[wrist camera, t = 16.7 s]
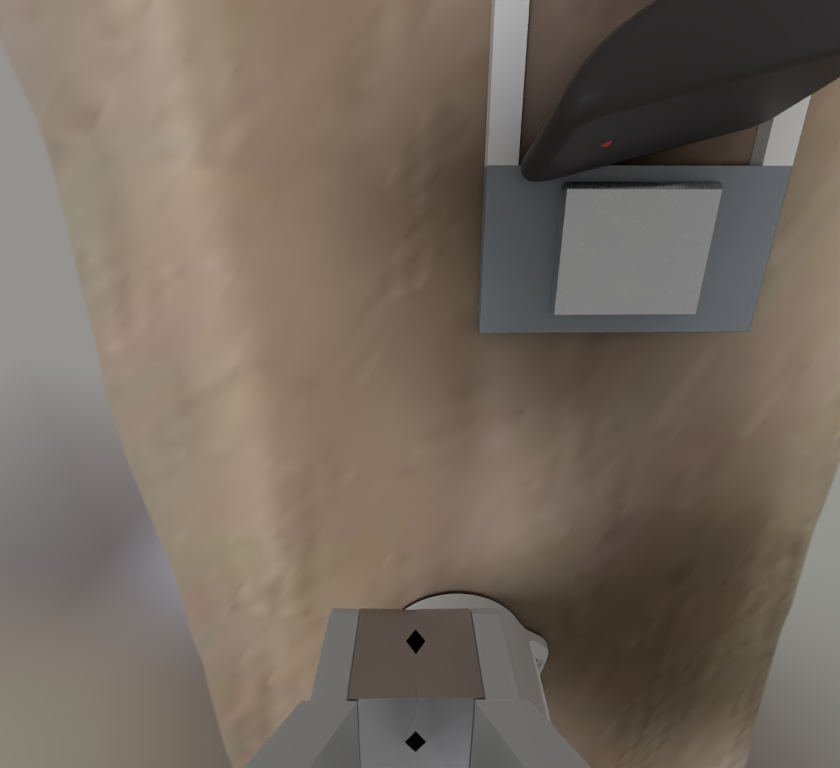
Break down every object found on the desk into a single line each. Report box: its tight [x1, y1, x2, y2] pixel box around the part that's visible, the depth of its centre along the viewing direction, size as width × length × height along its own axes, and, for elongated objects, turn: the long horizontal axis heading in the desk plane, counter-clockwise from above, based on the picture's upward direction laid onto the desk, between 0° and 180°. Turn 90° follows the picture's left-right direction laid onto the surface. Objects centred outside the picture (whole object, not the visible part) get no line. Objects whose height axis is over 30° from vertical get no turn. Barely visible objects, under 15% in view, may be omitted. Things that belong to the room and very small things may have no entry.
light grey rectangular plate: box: [550, 181, 723, 315], centre depth 29 cm, size 8×10×1 cm
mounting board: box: [477, 0, 811, 333], centre depth 28 cm, size 22×20×1 cm
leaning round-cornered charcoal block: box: [521, 0, 840, 182], centre depth 23 cm, size 16×5×9 cm, turn 104°
